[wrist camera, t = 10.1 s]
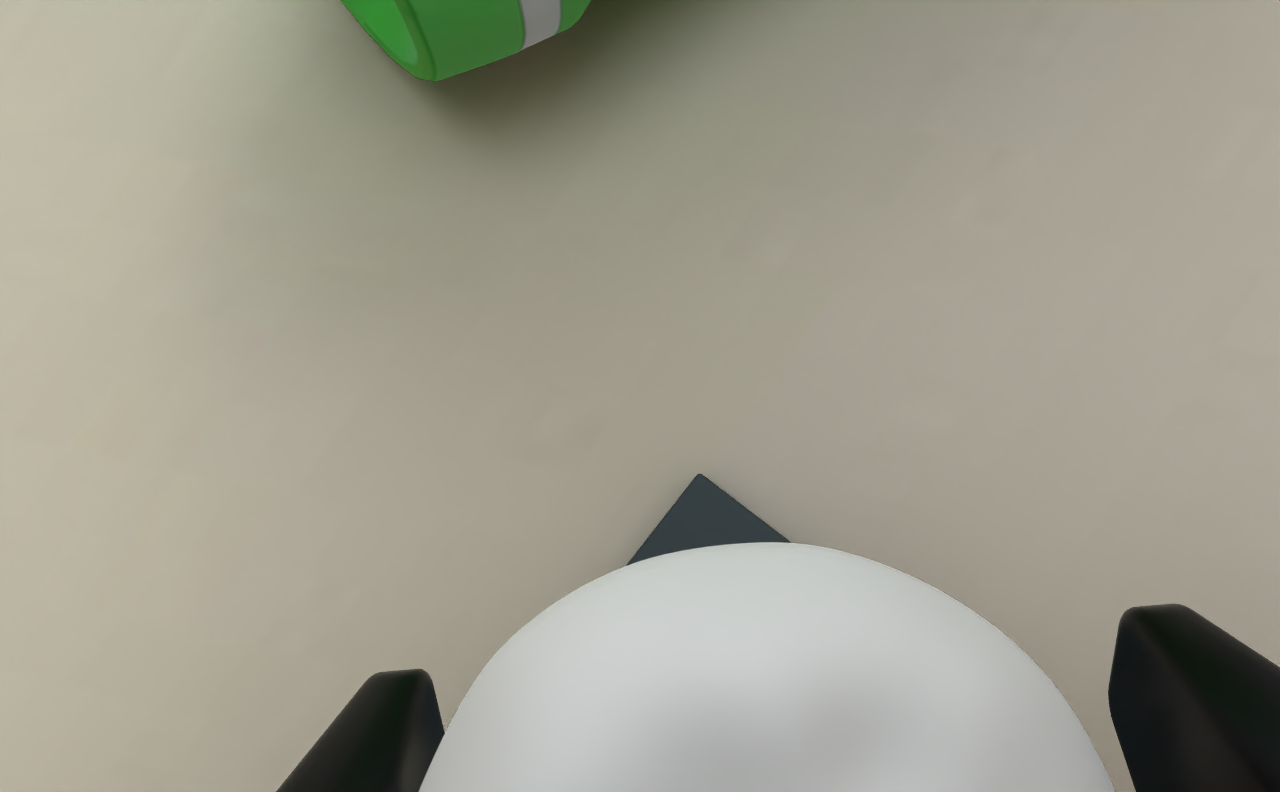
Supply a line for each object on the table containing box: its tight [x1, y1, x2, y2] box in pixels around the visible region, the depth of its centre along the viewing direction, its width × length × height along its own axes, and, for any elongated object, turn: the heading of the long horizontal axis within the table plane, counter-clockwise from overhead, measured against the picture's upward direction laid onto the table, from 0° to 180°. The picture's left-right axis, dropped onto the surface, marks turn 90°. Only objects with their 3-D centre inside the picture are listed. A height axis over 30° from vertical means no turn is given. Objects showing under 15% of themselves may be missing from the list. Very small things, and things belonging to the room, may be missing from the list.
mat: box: [626, 474, 791, 566], centre depth 17 cm, size 6×6×1 cm
